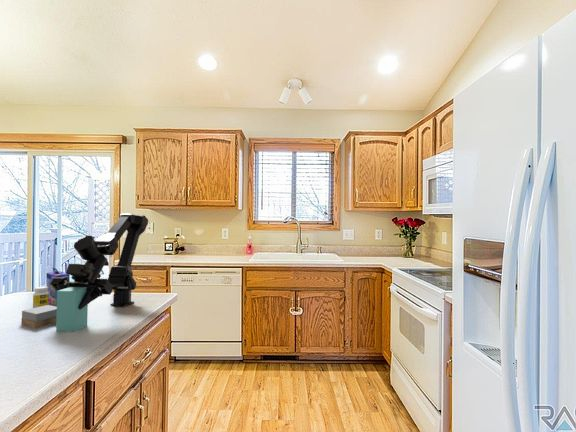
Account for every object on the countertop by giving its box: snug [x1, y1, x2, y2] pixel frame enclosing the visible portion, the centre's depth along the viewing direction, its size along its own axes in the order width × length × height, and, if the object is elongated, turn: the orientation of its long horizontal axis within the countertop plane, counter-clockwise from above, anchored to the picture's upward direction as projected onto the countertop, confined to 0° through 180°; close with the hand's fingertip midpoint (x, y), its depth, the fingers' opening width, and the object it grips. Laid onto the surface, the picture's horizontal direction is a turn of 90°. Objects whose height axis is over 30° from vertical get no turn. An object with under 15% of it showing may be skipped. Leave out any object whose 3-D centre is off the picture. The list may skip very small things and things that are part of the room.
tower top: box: [21, 304, 57, 322], centre depth 113 cm, size 8×8×2 cm
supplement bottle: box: [32, 286, 49, 308], centre depth 128 cm, size 5×5×8 cm
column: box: [55, 287, 89, 332], centre depth 108 cm, size 6×6×12 cm
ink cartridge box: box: [46, 267, 71, 306], centre depth 138 cm, size 10×6×14 cm, turn 54°
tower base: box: [20, 317, 57, 329], centre depth 113 cm, size 9×9×2 cm
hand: (69, 308), depth 106 cm, fingers closed on column, 6 cm apart
